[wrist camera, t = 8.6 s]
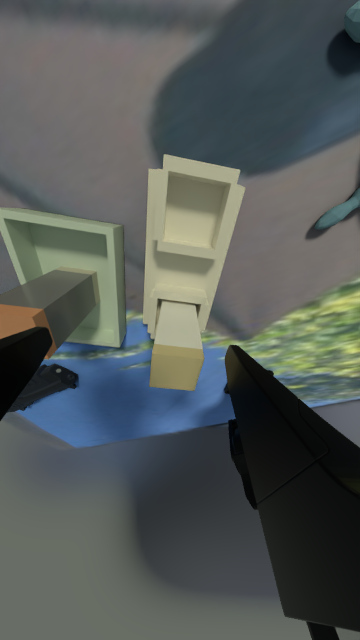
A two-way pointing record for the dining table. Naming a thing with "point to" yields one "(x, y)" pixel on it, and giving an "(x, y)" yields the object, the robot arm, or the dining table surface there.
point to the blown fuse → (50, 304)
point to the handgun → (44, 385)
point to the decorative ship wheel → (356, 25)
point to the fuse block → (187, 234)
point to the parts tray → (72, 263)
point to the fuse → (177, 347)
